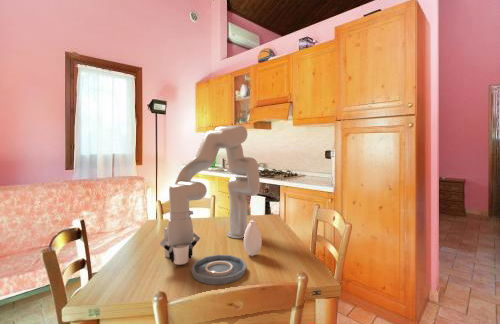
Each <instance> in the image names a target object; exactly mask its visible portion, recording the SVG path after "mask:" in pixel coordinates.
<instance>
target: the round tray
mask: <svg viewBox="0 0 500 324" xmlns="http://www.w3.org/2000/svg"><path fill="white" fill-rule="evenodd" d="M246 268H247V263H245V261H244V260H243V259H242V258H240V257H237V256H234V255H229V254H215V255H208V256H207V255H206V256H204V257H202V258H200V259H197V260H196V261H195V262H194V263H193V264H192V266H191V273H192V274H191V275H192V278H193V279H194V280H195V281H198V282H199V283H201V284H206V285H212V286H213V285H215V286H216V285H219V286H221V285H227V284H230V283H231V284H232V283H234V282H237V281H239V280H240V279H242V277H244V276H245V274H246Z"/></svg>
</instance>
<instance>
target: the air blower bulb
mask: <svg viewBox="0 0 500 324" xmlns="http://www.w3.org/2000/svg"><path fill="white" fill-rule="evenodd" d="M262 241H263V240H262V232H261V230H260V227H259V226H258V224H257V221H256V220H254V215H252V217H251V220H249V223H247V228H246V230H245V234H244V238H243V247H244V250H245V252H246V254H247V255H249V256H250V257H254V255H255V256H257V255H258V254H259V252H260V251H261V249H262V243H263V242H262Z"/></svg>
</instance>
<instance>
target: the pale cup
mask: <svg viewBox="0 0 500 324" xmlns="http://www.w3.org/2000/svg"><path fill="white" fill-rule="evenodd" d="M188 256H189V244H188V243H185V244H178V245H174V247H173V257H174V261H173V263H174V264H175V265H178V266H179V265H185V264H186V263H189V257H188Z"/></svg>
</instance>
